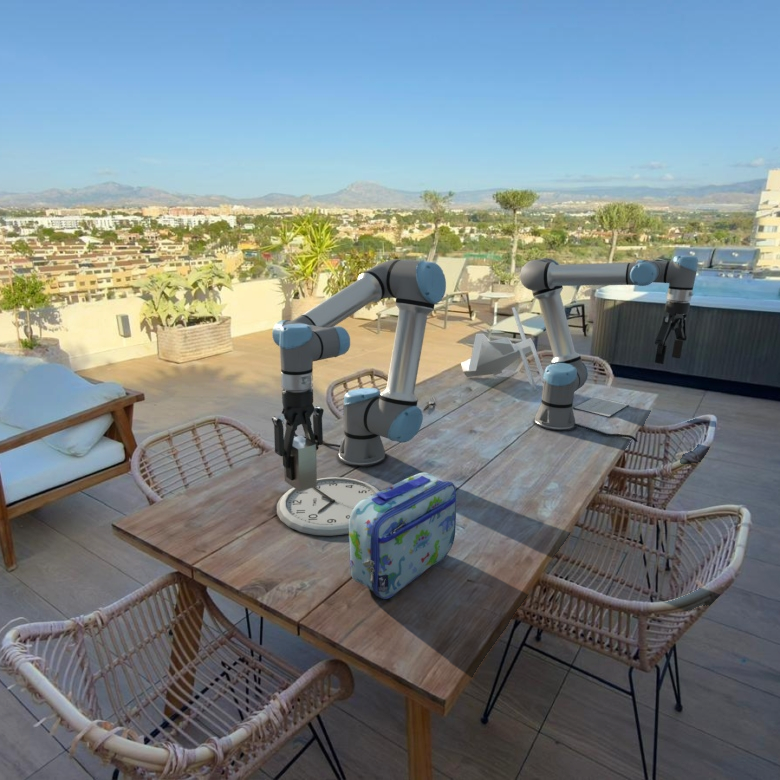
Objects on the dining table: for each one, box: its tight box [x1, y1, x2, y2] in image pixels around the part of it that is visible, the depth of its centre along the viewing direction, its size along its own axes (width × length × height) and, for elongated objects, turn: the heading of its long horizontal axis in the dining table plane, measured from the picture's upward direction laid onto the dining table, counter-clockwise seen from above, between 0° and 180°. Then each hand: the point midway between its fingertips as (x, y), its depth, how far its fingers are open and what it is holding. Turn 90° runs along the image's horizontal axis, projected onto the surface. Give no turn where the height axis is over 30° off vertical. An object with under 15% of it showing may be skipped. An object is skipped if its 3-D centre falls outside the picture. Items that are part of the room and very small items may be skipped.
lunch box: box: [348, 471, 457, 600], centre depth 113 cm, size 26×11×21 cm, turn 134°
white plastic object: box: [460, 306, 545, 391], centre depth 259 cm, size 37×45×31 cm
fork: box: [422, 395, 437, 412], centre depth 223 cm, size 3×16×2 cm, turn 160°
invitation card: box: [573, 396, 629, 418], centre depth 226 cm, size 21×1×15 cm
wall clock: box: [276, 476, 381, 537], centre depth 142 cm, size 30×2×30 cm
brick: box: [283, 435, 318, 492], centre depth 133 cm, size 8×5×12 cm
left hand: (300, 474), depth 134 cm, fingers closed on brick, 5 cm apart
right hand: (667, 360), depth 189 cm, fingers open, 13 cm apart
